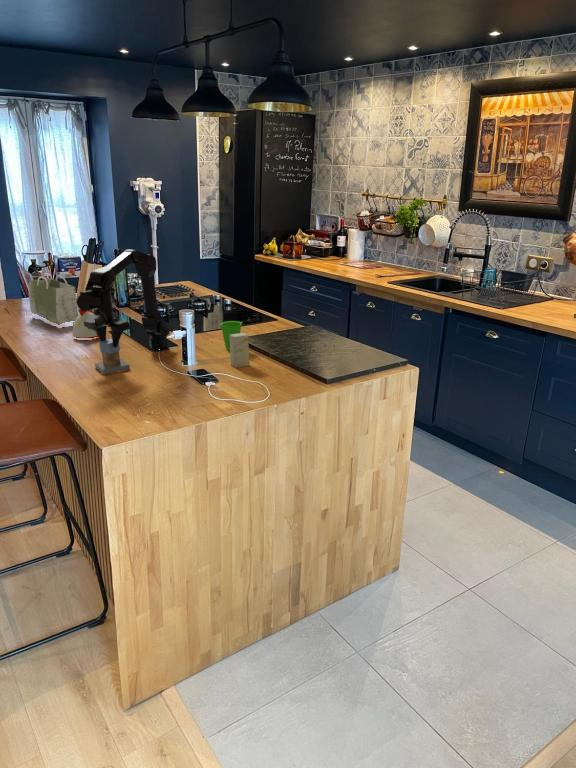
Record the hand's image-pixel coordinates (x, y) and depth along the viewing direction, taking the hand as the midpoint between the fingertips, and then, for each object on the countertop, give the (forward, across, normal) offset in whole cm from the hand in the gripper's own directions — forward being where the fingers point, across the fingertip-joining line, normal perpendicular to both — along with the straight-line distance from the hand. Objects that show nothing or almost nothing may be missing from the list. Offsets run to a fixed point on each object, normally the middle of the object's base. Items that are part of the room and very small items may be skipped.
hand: (109, 346), depth 219 cm
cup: (+9, +25, +42) cm, 50 cm away
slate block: (+2, 0, 0) cm, 2 cm away
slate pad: (+9, 0, 0) cm, 9 cm away
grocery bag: (+9, -83, +40) cm, 93 cm away
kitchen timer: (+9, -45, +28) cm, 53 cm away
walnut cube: (+7, 0, 0) cm, 7 cm away
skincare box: (+9, +40, +27) cm, 49 cm away
